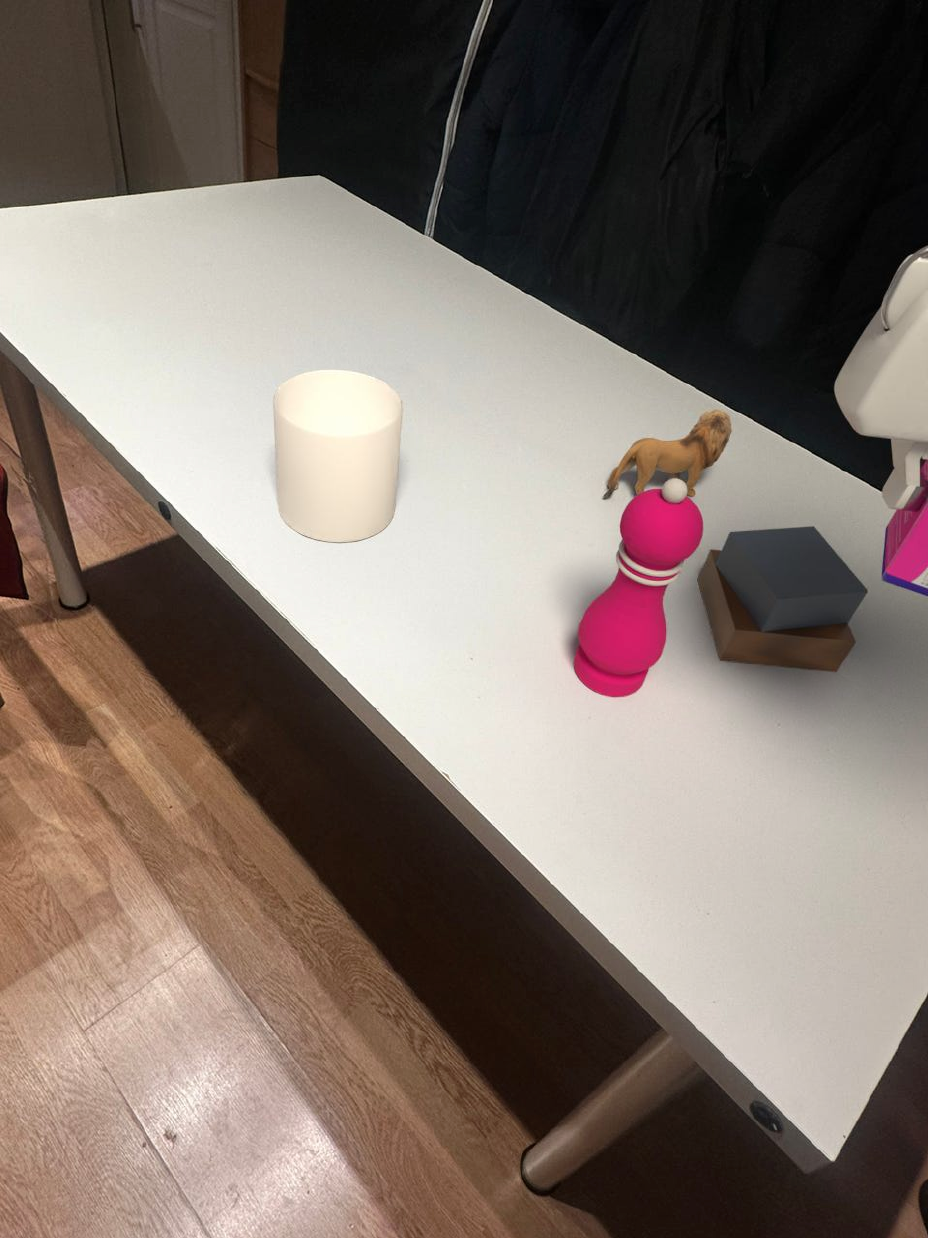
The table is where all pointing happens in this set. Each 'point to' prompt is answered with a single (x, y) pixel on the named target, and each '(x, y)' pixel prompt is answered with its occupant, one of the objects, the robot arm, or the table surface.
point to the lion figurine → (677, 453)
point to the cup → (337, 454)
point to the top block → (789, 578)
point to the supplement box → (907, 548)
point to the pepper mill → (638, 591)
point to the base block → (773, 648)
